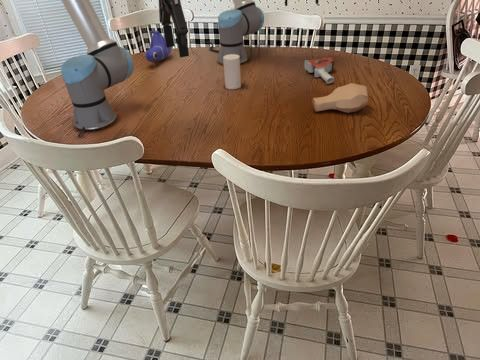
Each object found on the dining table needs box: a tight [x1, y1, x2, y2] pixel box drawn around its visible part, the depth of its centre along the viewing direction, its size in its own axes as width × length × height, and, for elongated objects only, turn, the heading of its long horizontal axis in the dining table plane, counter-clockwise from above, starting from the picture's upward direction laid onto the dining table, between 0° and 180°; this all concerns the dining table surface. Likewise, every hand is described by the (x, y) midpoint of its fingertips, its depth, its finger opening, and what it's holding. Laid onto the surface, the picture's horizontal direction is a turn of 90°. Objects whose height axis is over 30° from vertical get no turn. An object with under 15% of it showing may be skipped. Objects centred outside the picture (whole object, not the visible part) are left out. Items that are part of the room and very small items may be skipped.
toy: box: [144, 30, 172, 67], centre depth 185 cm, size 10×17×25 cm
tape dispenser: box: [304, 56, 335, 85], centre depth 159 cm, size 18×5×20 cm
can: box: [223, 54, 242, 90], centre depth 152 cm, size 7×7×13 cm
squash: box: [312, 82, 369, 113], centre depth 129 cm, size 11×20×9 cm, turn 92°
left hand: (177, 51), depth 113 cm, fingers open, 13 cm apart
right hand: (301, 4), depth 157 cm, fingers open, 13 cm apart
